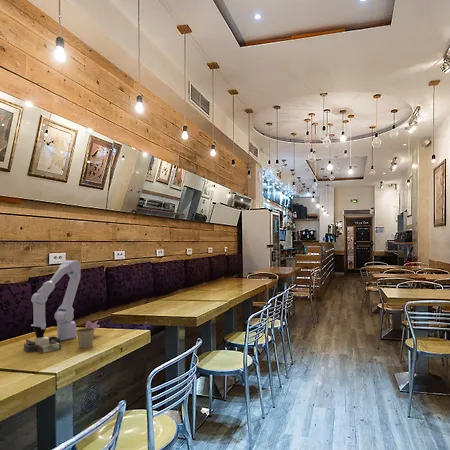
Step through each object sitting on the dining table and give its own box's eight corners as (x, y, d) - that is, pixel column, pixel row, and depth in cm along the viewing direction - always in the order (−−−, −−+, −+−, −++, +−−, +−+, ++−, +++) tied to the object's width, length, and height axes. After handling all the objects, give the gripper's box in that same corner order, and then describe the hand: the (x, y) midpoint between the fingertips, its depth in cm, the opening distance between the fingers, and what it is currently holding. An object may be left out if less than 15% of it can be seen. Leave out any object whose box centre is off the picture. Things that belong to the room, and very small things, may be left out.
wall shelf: (51, 338, 216) (51, 333, 216) (68, 347, 196) (68, 341, 196) (18, 345, 204) (18, 339, 204) (33, 354, 184) (33, 348, 184)
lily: (103, 335, 223) (97, 321, 225) (105, 331, 213) (98, 316, 215) (83, 345, 217) (77, 330, 219) (83, 341, 207) (77, 325, 209)
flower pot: (99, 345, 198) (99, 328, 198) (85, 350, 189) (85, 332, 190) (85, 343, 202) (85, 327, 202) (71, 348, 193) (71, 331, 194)
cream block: (46, 344, 204) (46, 336, 204) (49, 346, 200) (49, 338, 200) (34, 346, 201) (33, 338, 201) (36, 348, 196) (36, 340, 196)
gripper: (27, 314, 207) (27, 340, 206) (35, 318, 196) (35, 344, 196) (41, 313, 212) (41, 337, 211) (49, 316, 201) (50, 342, 200)
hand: (39, 341), depth 204 cm, fingers closed
